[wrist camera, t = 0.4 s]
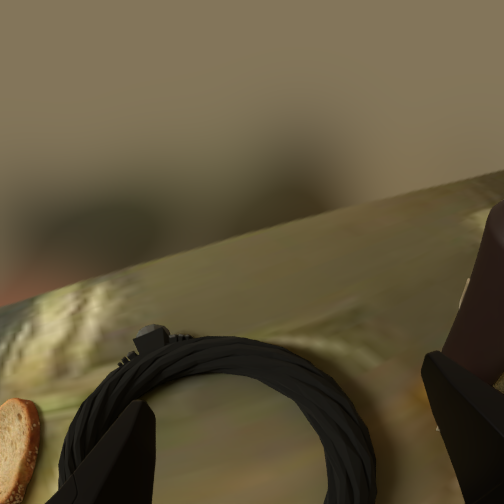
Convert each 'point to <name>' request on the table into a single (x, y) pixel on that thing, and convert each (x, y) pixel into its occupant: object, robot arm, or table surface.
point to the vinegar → (483, 308)
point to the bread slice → (17, 448)
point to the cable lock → (239, 363)
